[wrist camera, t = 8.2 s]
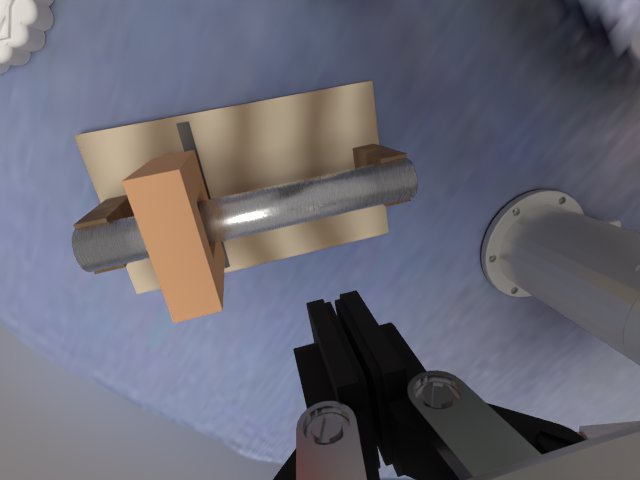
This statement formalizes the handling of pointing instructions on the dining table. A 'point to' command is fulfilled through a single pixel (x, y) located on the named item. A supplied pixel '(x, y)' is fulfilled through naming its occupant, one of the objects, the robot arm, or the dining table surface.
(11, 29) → the mooncake
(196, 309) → the collar
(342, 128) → the pipe stand
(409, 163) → the pipe
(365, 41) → the dining table surface
